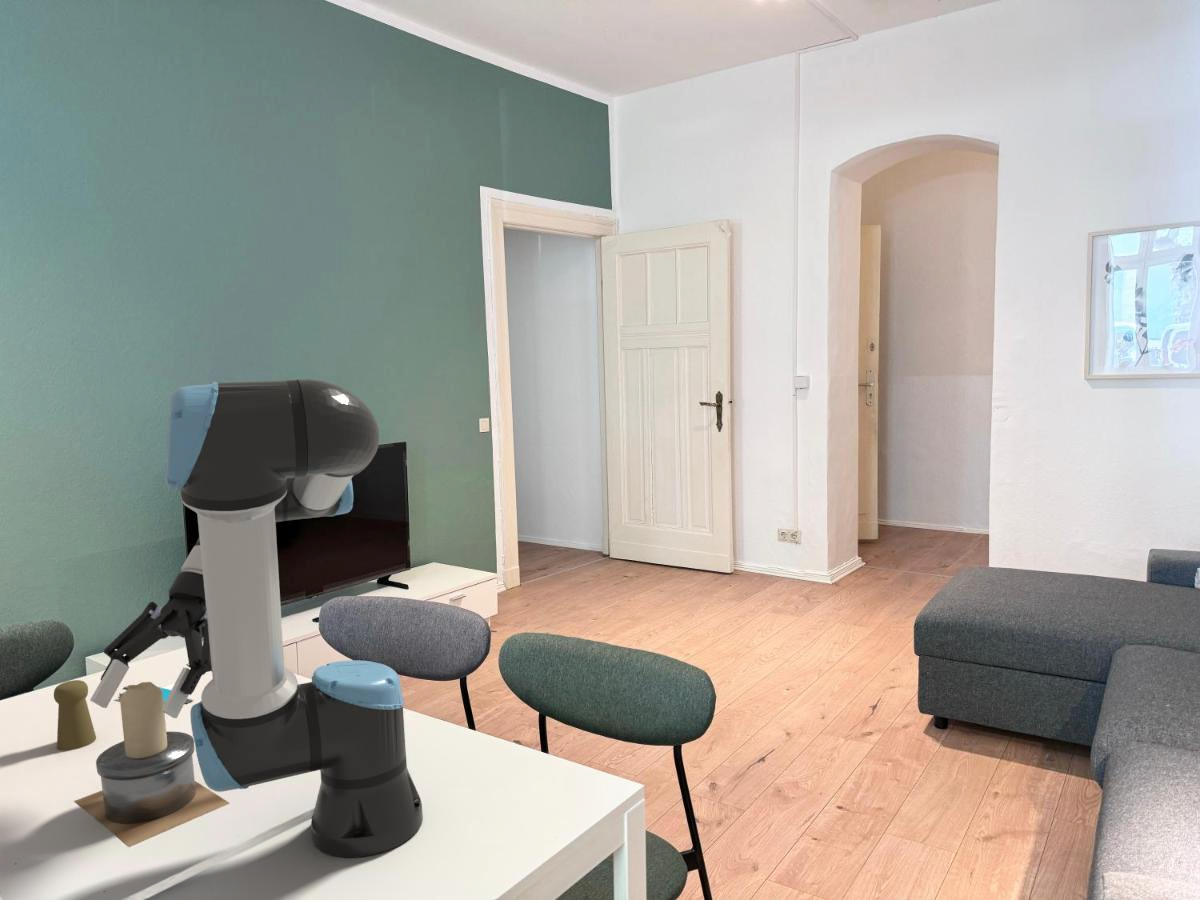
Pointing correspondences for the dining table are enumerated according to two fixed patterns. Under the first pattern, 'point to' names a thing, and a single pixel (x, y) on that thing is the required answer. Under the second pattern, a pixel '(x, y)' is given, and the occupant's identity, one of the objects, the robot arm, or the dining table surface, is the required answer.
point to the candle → (143, 720)
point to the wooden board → (143, 831)
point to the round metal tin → (147, 781)
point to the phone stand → (165, 691)
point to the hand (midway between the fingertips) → (132, 709)
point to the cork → (73, 716)
